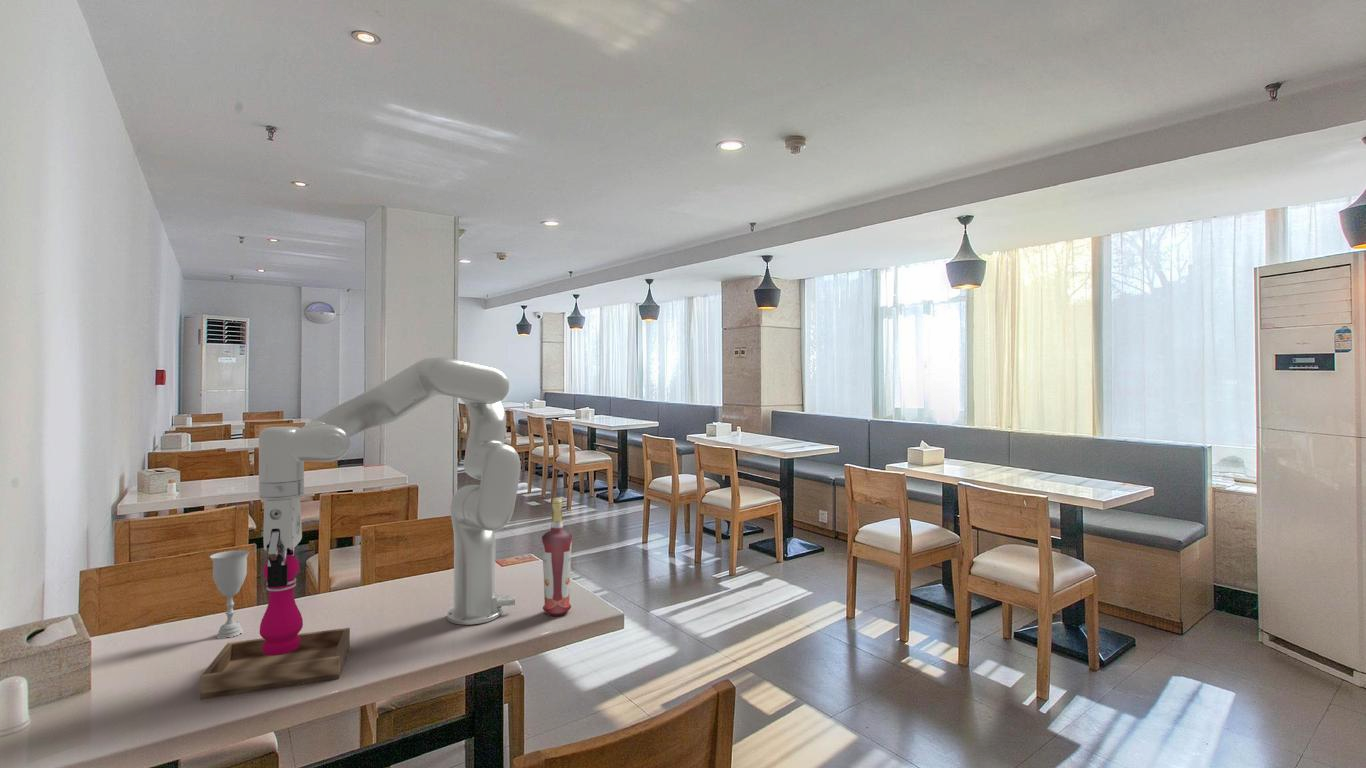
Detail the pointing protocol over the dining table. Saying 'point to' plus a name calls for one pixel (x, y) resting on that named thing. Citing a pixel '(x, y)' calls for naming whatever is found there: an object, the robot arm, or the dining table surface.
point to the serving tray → (275, 664)
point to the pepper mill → (282, 614)
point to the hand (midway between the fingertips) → (281, 580)
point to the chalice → (229, 584)
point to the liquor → (556, 563)
